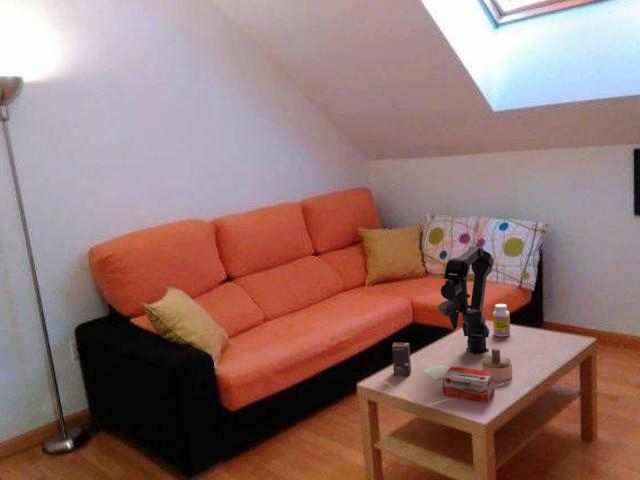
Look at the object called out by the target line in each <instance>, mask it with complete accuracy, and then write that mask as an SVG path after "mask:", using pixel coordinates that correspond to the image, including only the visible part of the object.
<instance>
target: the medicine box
mask: <svg viewBox="0 0 640 480" xmlns="http://www.w3.org/2000/svg"><path fill="white" fill-rule="evenodd" d="M449 368H450V369H449V370H448V371H447V372H446V373H445V374H444V375H443V378H442V391H443V396H445V397H449V398H451V399H456V400H462V401H467V402H468V401H469V402H475V403H482V404H488V403H489V402H490V400H491V399H492V398H493V396H494V395H495V381H494V376H493V372H492V371H484V370H482V369H480V370H479V369H475V368H467V367H466V368H465V367H458V366H450V367H449Z"/></svg>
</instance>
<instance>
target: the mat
mask: <svg viewBox="0 0 640 480" xmlns="http://www.w3.org/2000/svg"><path fill="white" fill-rule="evenodd" d="M449 369H450V367H449V366H447V365H445V364H440V365H436V366H432V367H428V368H425V369H424V368H423V369H420V371H421V372H422V373H424V374H425V375H426V376H428V377H430V378H431V379H433V380H440V379H443V375H444V374H445V373H446V372H447V371H448V370H449Z"/></svg>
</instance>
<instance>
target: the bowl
mask: <svg viewBox="0 0 640 480" xmlns="http://www.w3.org/2000/svg"><path fill="white" fill-rule="evenodd" d="M481 370H484V371H492V372H493V376H494V382H505V381H508V380H510V379H511V378H512V377H513V363H512V362H511V364H510V365H509V366H508V367H505V368H489V367H486V366H484V365H483V364H482V363H481Z"/></svg>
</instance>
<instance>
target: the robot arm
mask: <svg viewBox="0 0 640 480" xmlns="http://www.w3.org/2000/svg"><path fill="white" fill-rule="evenodd" d="M445 265H446V267H445V271H444V274H443V280H445V281H444V284H443V285H442V286H441V288H440V294H441V297H443V298H444V299H445V301H442V302H441V303H440V304H438V306H437V308H438V310H439V312H440V314H441V315H443V316H445V317H448V319H449V321H450V323H451V326H452V328H453V330H457V327H458V322H459V315H460V314H461V318H462V321H463V322H462V325H461V326H462V331H463V336H464V337H467V340H466V342H467V347H466V348H465V349H466V351H468V352H470V353H472V354H474V355H478V354H483V353H485V352H489V351H490V350H489V348H487V338H489V337H490V328H488V326H487V324H486V319H485V316H484V314H483V310H484V308H483V307H484V301H485V294H486V286H487V285H486V284H487V278H488V276H490V274H491V273H492V270H493V267H494V265H495V260H494V257H493V255H492V254H491V253H489V252H488V251H486V250H484V248H483V247H481V246H471V247H468V249H467V250H466V251H464V253H463V254H461V255H460V256H458V257H451V258H449V259H448V261H447V262H446V264H445ZM470 268H471V269H470ZM470 270H471V271H472V272H473V275H474V277H473V285H472V293H471V295H470V294H469V293H468V281H467V280H468V279H467V278H468V276H469V272H470ZM470 297H471V299H470V304H469V298H470Z"/></svg>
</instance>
